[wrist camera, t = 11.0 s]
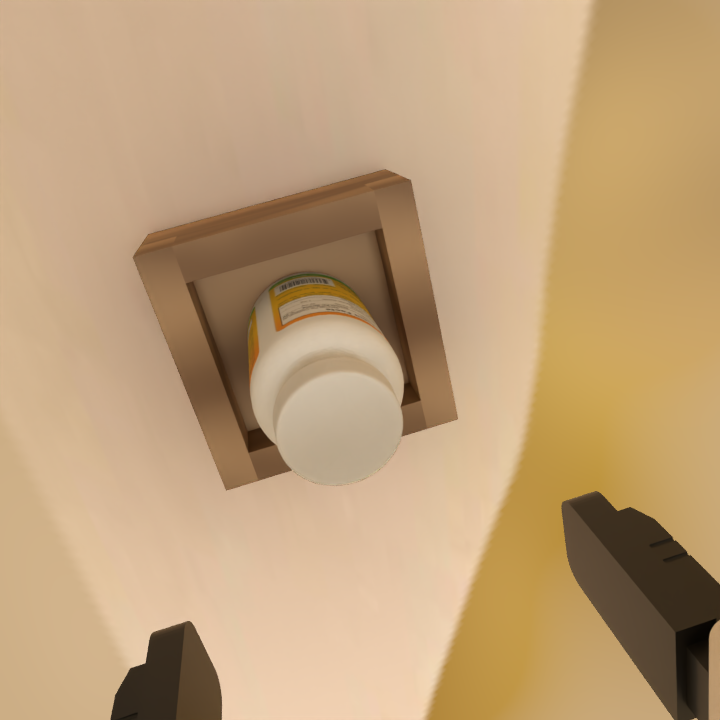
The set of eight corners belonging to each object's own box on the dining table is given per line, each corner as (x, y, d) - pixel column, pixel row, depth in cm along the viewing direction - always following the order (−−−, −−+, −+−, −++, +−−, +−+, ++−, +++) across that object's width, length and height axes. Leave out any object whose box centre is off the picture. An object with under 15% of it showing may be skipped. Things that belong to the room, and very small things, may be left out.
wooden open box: (148, 234, 27) (132, 257, 23) (385, 169, 28) (410, 180, 24) (227, 441, 32) (226, 490, 28) (430, 379, 33) (457, 418, 29)
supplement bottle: (314, 404, 29) (347, 534, 20) (221, 337, 27) (214, 448, 18) (391, 319, 28) (460, 417, 19) (301, 243, 26) (334, 313, 17)
